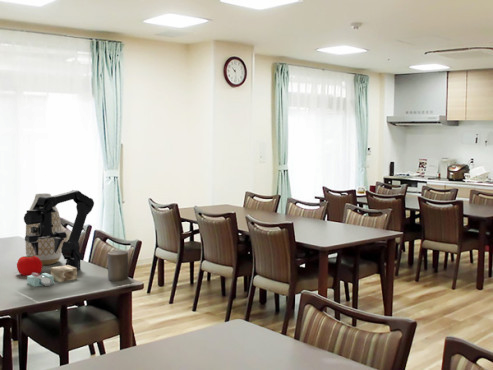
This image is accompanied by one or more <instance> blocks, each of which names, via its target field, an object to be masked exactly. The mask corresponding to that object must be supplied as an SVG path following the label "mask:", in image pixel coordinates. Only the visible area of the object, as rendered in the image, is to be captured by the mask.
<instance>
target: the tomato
mask: <svg viewBox="0 0 493 370" xmlns="http://www.w3.org/2000/svg"><path fill="white" fill-rule="evenodd" d="M16 269H17V271H18V273H19V274H20V275H21V276H25V277H27V276H30V275H31V274H32V273H37V274H40V275H41V274H42V271H43V265H42V261H41V260H40V259H39V258H38V257H36V256H34V255H33V256H26V255H25V256H23V255H22V256H21V257H20V258H19V259H18V260H17V263H16Z"/></svg>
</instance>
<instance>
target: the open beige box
mask: <svg viewBox="0 0 493 370" xmlns="http://www.w3.org/2000/svg"><path fill="white" fill-rule="evenodd" d="M50 275H52V276H53V277H54V281H56V282H58V283H61V282H66V281H72V280H77V279H78V271H77V268H75V267H73V266H70V265H59V266H53V267H50Z"/></svg>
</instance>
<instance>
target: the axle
mask: <svg viewBox="0 0 493 370" xmlns="http://www.w3.org/2000/svg"><path fill="white" fill-rule="evenodd" d="M31 275H33V276H35V277H37V278H39V283H41V284H43V285H42V286H45V287H50V286H51V285H52V280H51V279H49V278H46V277H44V276H42V274H41V273H40V274H37V273H32V274H31Z"/></svg>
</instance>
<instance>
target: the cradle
mask: <svg viewBox="0 0 493 370" xmlns="http://www.w3.org/2000/svg"><path fill="white" fill-rule="evenodd" d="M41 275H42V276H44V277H46V278H49V279H51V280H52V284H54V283H55V282H54V281H55V280H54V277H53V276H52V275H51V273H50V274H49V273H47V272H44V273H42V272H41ZM26 277H27V278H26V279H27V284H28V285H30V286H32V287H35V288H36V287H40V286H44V285H43V284H41V283H39V278H37V277H35V276H33V275H30V276H26ZM52 284H51V285H52Z"/></svg>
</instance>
